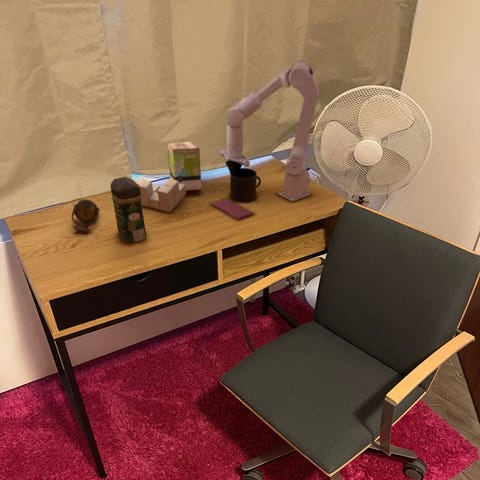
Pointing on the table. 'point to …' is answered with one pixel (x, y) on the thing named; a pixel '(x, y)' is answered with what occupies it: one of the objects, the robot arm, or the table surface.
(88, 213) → the dark brown rounded piece
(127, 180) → the coffee jar
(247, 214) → the cloth
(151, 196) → the puzzle cube
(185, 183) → the tea box
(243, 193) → the mug
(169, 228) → the table surface
